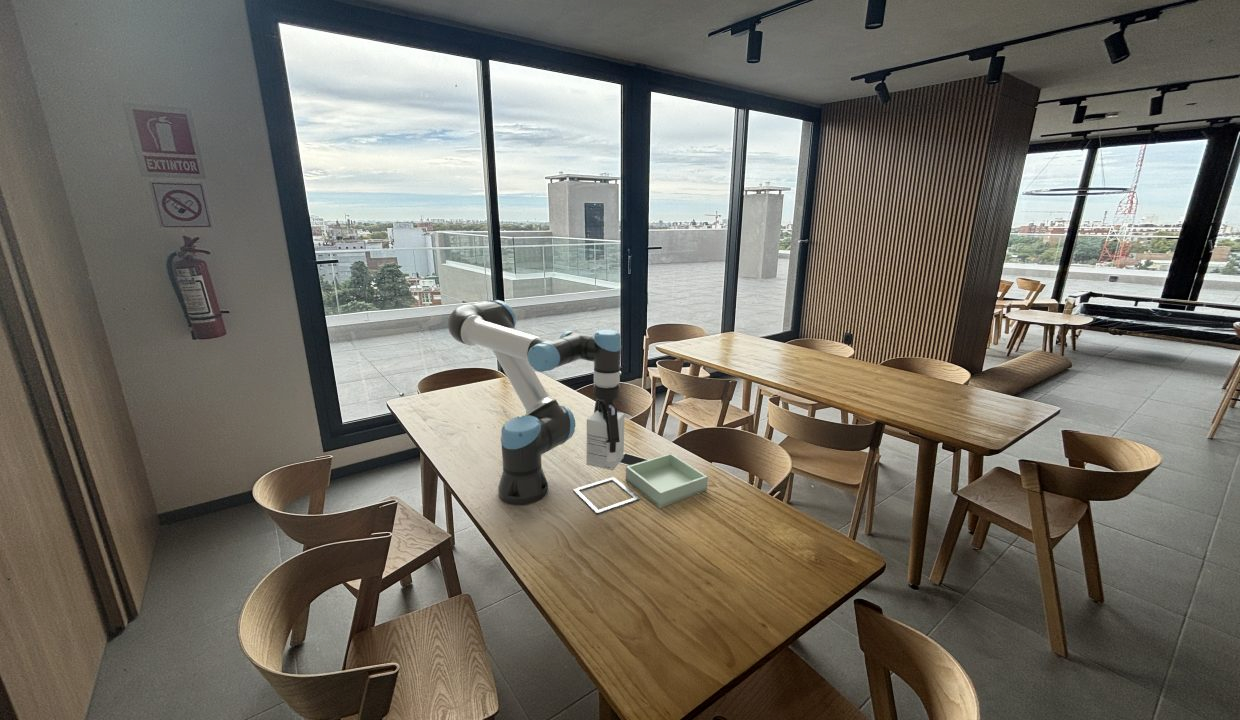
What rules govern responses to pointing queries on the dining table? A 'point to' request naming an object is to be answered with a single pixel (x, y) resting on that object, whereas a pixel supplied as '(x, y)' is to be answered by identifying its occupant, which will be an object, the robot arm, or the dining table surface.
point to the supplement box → (603, 441)
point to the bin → (666, 479)
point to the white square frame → (633, 499)
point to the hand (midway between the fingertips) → (605, 451)
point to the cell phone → (631, 459)
